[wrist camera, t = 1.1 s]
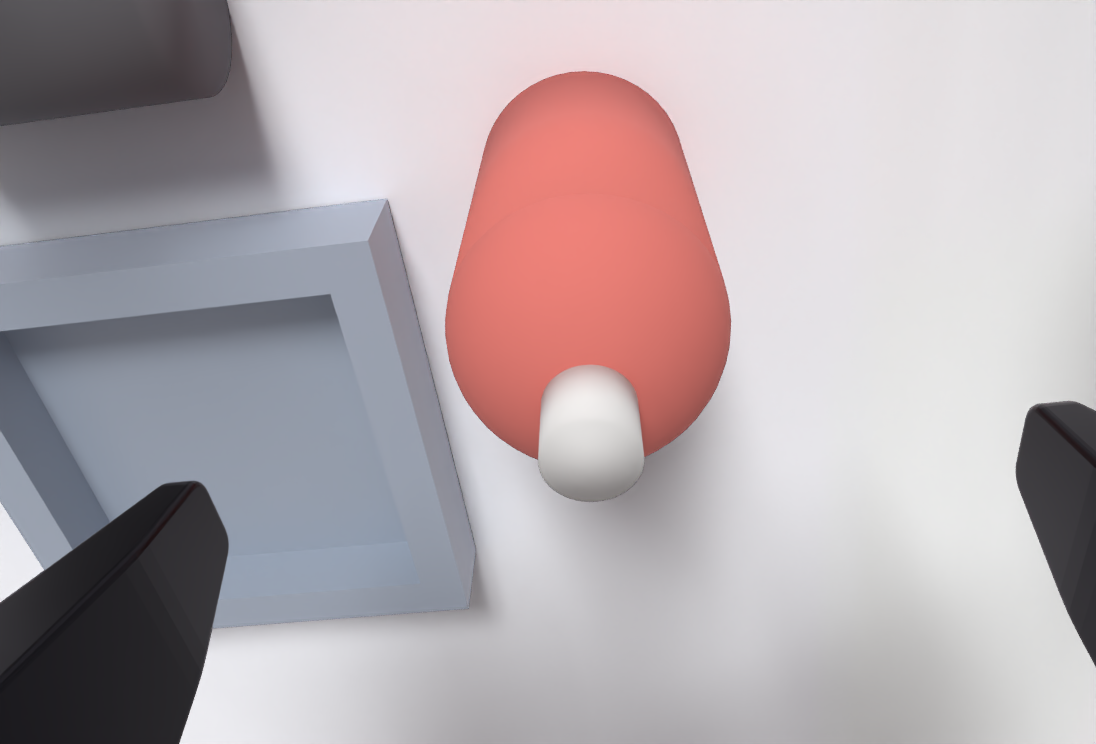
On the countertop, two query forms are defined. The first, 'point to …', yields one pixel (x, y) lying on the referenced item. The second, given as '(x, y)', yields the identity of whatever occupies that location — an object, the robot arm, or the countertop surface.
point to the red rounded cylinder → (586, 285)
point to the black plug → (108, 55)
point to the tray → (238, 406)
